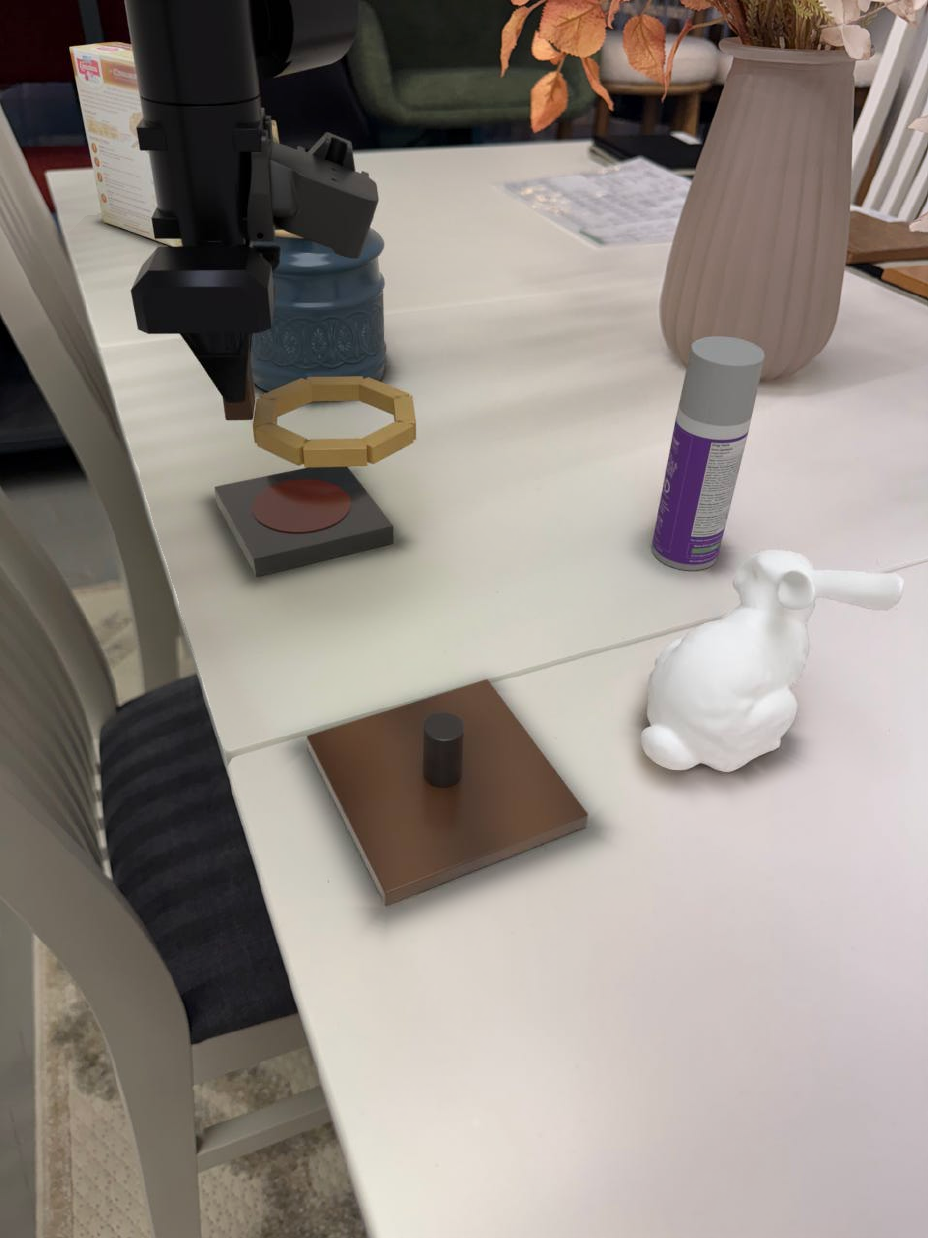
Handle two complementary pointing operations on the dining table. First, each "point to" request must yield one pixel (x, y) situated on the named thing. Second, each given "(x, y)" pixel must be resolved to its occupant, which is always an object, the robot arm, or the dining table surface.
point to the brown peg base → (442, 788)
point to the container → (706, 450)
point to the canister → (322, 314)
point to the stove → (302, 517)
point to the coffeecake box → (116, 136)
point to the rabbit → (747, 663)
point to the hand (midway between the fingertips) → (237, 391)
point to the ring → (326, 449)
